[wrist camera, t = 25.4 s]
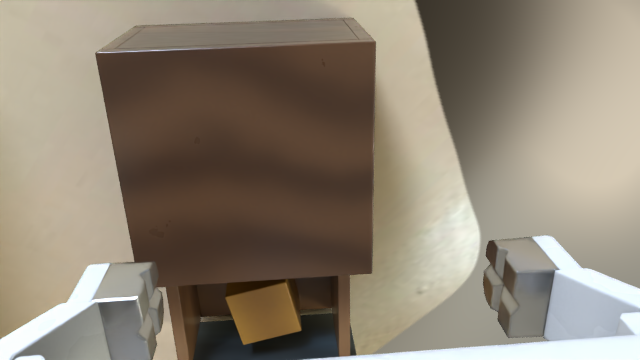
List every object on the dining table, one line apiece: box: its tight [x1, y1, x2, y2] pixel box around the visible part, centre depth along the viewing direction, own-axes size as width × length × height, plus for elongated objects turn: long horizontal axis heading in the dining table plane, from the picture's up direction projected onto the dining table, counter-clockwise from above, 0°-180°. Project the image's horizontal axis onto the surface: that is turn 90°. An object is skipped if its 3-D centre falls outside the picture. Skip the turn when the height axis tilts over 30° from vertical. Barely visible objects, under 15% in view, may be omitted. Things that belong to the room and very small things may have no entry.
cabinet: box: [95, 18, 376, 287], centre depth 36 cm, size 15×15×9 cm
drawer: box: [166, 275, 356, 360], centre depth 42 cm, size 20×13×7 cm
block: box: [225, 279, 301, 345], centre depth 41 cm, size 4×4×4 cm
